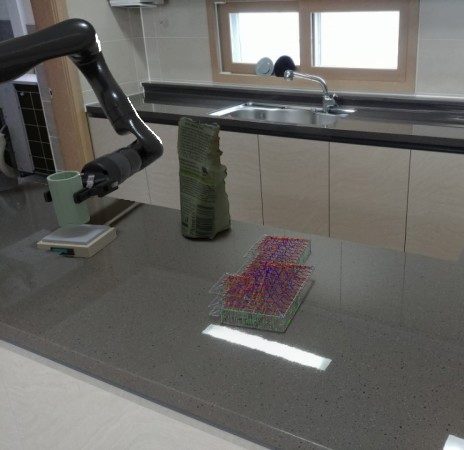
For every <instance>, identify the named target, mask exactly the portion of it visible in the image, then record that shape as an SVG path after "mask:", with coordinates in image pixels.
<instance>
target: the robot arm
mask: <svg viewBox="0 0 464 450" xmlns="http://www.w3.org/2000/svg"><path fill="white" fill-rule="evenodd" d="M100 41H101V40H100V39H99V36H98V33H97V31H96V28H95V27H94V25H93V24H92V23H91V22H89V21H88V20H86V19H84V18H80V17H79V18H78V17H73V18H67V19H64V20H61V21H59V22H57V23H54V24H51V25H48V26H47V27H44V28H42V29H39V30H36V31H34V32H33V31H32V32H31V33H28V34H23V35H20V36H15V37H12V38H9V39H5V40H2V41H0V86H1V85H4V84H9V83H12V82H14V81H16V80H18V79H20V78H21V77H23V76H24V75H26V74H28V73H29V72H30V71H31V70H33V69H34V68H37V66H39V65H41V64H42V63H45V62H47V61H51V60H55V59H59V58H63V57H67V58H68V59H69V60H70V61H71V62H72V64H74V66H75V67H76V68H77V69H78V70H79V72H80V73H81V74H82V76H83V77H84V78H85V80H86V81H87V83H88V84H89V86H90V88H91V89H92V91H93V93H94V96H95V98H96V99H97V101H98V104H99V105H100V107H101V110H102V111H103V114H104V115H105V117H106V118H107V120H108V122H109V124H110V125H111V127H112V128H113V131H114V132H115V133H116V134H117V135H118V136H120V137H124V136H125V137H126V136H129V135H131V134H132V135H133V136H135V138H136V139H134V140H133V141H132V142H131V143H129V144H128V145H126V146H123V147H119V148H117V149H115V150H113V151H111V152H108V153H105V154H103V155H100V156H99V157H96V158H94V159H92V160H90V161H89V162H87V163H85V164H84V165H83V167H82V168H81V171H80V172H79V173H80V175H81V179H82V184H83V188H82V189H81V190H79V191H77V192H75V193H74V194H73V198H74V202H75V204H80V203H81V202H83V201H85V200H86V201H87V200H88V199H94V198H95V197H96V196H97V198H99V199H101V198H104V197H105V196H107V195H109V194H112V193H113V192H116V191H117V190H119V189H120V188H119V187H120V185H122V184H123V183H124V182H125V181H126V180H127V179H129V178H131V177H132V176H134V175H135V174H138V173H139V172H141V171H143V170H145V169H146V168H148V167H149V166H150V165H152V164H153V163H155V162H156V161H158V160H159V159H160V158H162V156H163V154H164V150H165V149H164V145H163V142H162V140H161V138H160V137H159V136H158V135H157V134H156V133H155V132H154V131H152V129H151V128H150V127H149V126H148V125H147V124H146V123H145V122H144V121H143V119H141V117H140V115H139V113H137V111H136V109H135V107H134V106H133V103H132V102H131V100H130V99H129V97H128V95H127V94H126V93H125V91H124V89H123V88H122V87H121V85H120V84H119V83H118V81H117V80H116V78H115V77H114V75H113V74H112V72H111V70H110V68H109V66H108V64H107V61H106V59H105V56H104V53H103V50H102V47H101V42H100ZM43 198H44V201H45V202H44V203H52V198H51V194H50V190H49V189H47V190H46V191H43Z"/></svg>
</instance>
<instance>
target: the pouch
mask: <svg viewBox="0 0 464 450" xmlns="http://www.w3.org/2000/svg"><path fill="white" fill-rule="evenodd" d="M200 122H201V121H200V117H198V118H197V120H193V119H192V118H190V117H187V116H182V117H179V120H178V121H177V125H178V126H177V127H178V129H177V143H176V145H177V146H176V150H177V157H178V167H179V168H178V178H179V206H180V207H179V209H180V221H181V226H180V228H181V233H182V234H183V235H184V236H185V237H188V238H193V239H195V238H208V239H210V240H213V238H214V237H215V236H216V235H217V234H218V233H220V232H223V231H225V230H232V227H231V225H232V222H231V221H232V218H231V212H230V207H231V206H230V200H229V195H228V193H227V191H226V180H225V179H226V178H227V177H228V172H227V170H228V168H227V166H226V165H225V164H222V161H221V156H223V153H224V151H223V150H221V149H220V140H221V137H220V136H219V135H220V130H221V125H220V124H218V123H217V122H212V123H210V124H209V123H207V122H204V123H200Z"/></svg>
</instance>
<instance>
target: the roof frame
mask: <svg viewBox="0 0 464 450" xmlns="http://www.w3.org/2000/svg"><path fill="white" fill-rule="evenodd" d="M291 251H292V252H291ZM311 253H312V239H311V238H310V239H309V238H298V237H297V238H296V237H285V236H278V235H277V236H274V235H271V234H262V235H261V236H260V237H259V238H258V240H257V241H256V242H255V243H254V244H253V245H252V246H251V248H249V250H248V251H247V252H246V253H245V254H244V255H243V258H244V259H248V260H246V262H245V263H244V264H243V265H242V266H241V267H240V269H239V270H238V271H237V272H236V273H234V272H225V273H224V274H223V275H222V276H221V277H220V278H219V280H218V281H217V282H215V284H214V285H213V286H212V287H211V288H210V289H209V291H208V292H207V293H208V294H212V295H216V297H215V298H214V299H213V300H212V301H210V303H209V304H208V306H207V308H209V309H212V310H210V312H209V313H208V316H211V317H217V318H220V321H221V324H226V325H227V324H228V325H235V326H241V327H247V328H248V327H249V328H255V329H260V330H261V329H262V330H267V331H275V332H282V333H284V332H285V331H286V330H287V328H288V326H289V325H290V323H291V321H292V319H293V317H294V316H295V314H296V312H297V310H298V309H299V307H300V306H301V304H302V296H301V295H302V293H301V292H302V291H303V290H304V288H305V286H306V284H307V283H308V281H309V279H310V278H311V277H312V275H313V273H314V271H315V270H316V266H315V265H308V264H306V265H305V262H306V261H307V259H308V258H309V256H310V255H311ZM251 259H252V260H251ZM244 267H245V268H244ZM305 272H307V273H308V274H306V273H305ZM298 273H299V274H298ZM301 274H302V275H301ZM304 276H305V277H306V278H305V277H304ZM293 280H295V281H293ZM300 284H301V285H300ZM274 285H276V286H274ZM297 287H299V288H297ZM214 291H215V292H214ZM278 291H279V292H278ZM217 292H218V293H217ZM280 292H281V293H280ZM266 295H267V296H266ZM279 296H281V297H280V298H279ZM270 298H271V300H272V301H271V300H268V299H270ZM275 300H277V301H275ZM280 301H281V302H280ZM286 301H287V302H286ZM288 302H291V303H288ZM270 303H271V305H270ZM296 303H298V305H297V306H296ZM274 304H276V306H275V307H274ZM284 305H287V306H288V307H286V306H284ZM230 307H231V309H230ZM234 308H236V309H234ZM216 309H217V310H216ZM241 309H242V310H241ZM282 309H283V310H284V309H285V310H286V311H283V310H282ZM213 311H214V312H213ZM266 311H267V312H271V314H270V315H269V314H265V313H266ZM278 312H279V314H280V315H278V316H277V313H278ZM216 313H217V314H216ZM273 313H274V315H272V314H273ZM288 314H289V315H291V317H289V320H288V321H287V318H286V316H287V315H288ZM231 315H232V316H231ZM238 315H239V316H238ZM245 316H246V319H245ZM265 316H266V317H265ZM268 316H269V317H271V318H269V320H267V318H268ZM232 317H233V319H232ZM240 319H241V322H242V324H241V323H240ZM261 319H262V321H263V322H262V323H263V325H264V326H260V325H259V321H260V320H261ZM264 319H265V320H266V321H265V320H264ZM225 320H226V321H225ZM233 320H234V322H238V323H233ZM271 320H278V322H282V323H278V326H282V328H275V325H274V324H275V323H274V321H272V322H271ZM250 324H252V325H250ZM265 324H266V325H265ZM269 327H270V328H269Z"/></svg>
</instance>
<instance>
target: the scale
mask: <svg viewBox="0 0 464 450" xmlns="http://www.w3.org/2000/svg"><path fill="white" fill-rule="evenodd" d="M117 238H118V236H117V231H116V227H114V226H113V227H111V226H110V225H103V224H102V225H101V224H87V223H85V224H82V225H79V226H75V227H61V226H59V228H56V229H55V230H54V231H52V232H51V233H48V234H47V235H46V236H44V237H42V238H41V240H40V241H38V242H37V243H36V248H37V249H38V250H47V251H51V252H60V253H58V255H63V256H62V257H71V256H73V257H72V258H83V257H84V258H85V259H91V258H93V256H95V255H97V253H99V252H100V251H102V250H103V249H104V248H106V247H107V246H108V245H110V244H111V243H112V242H113V241H114V240H116V239H117ZM74 256H75V257H74Z"/></svg>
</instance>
